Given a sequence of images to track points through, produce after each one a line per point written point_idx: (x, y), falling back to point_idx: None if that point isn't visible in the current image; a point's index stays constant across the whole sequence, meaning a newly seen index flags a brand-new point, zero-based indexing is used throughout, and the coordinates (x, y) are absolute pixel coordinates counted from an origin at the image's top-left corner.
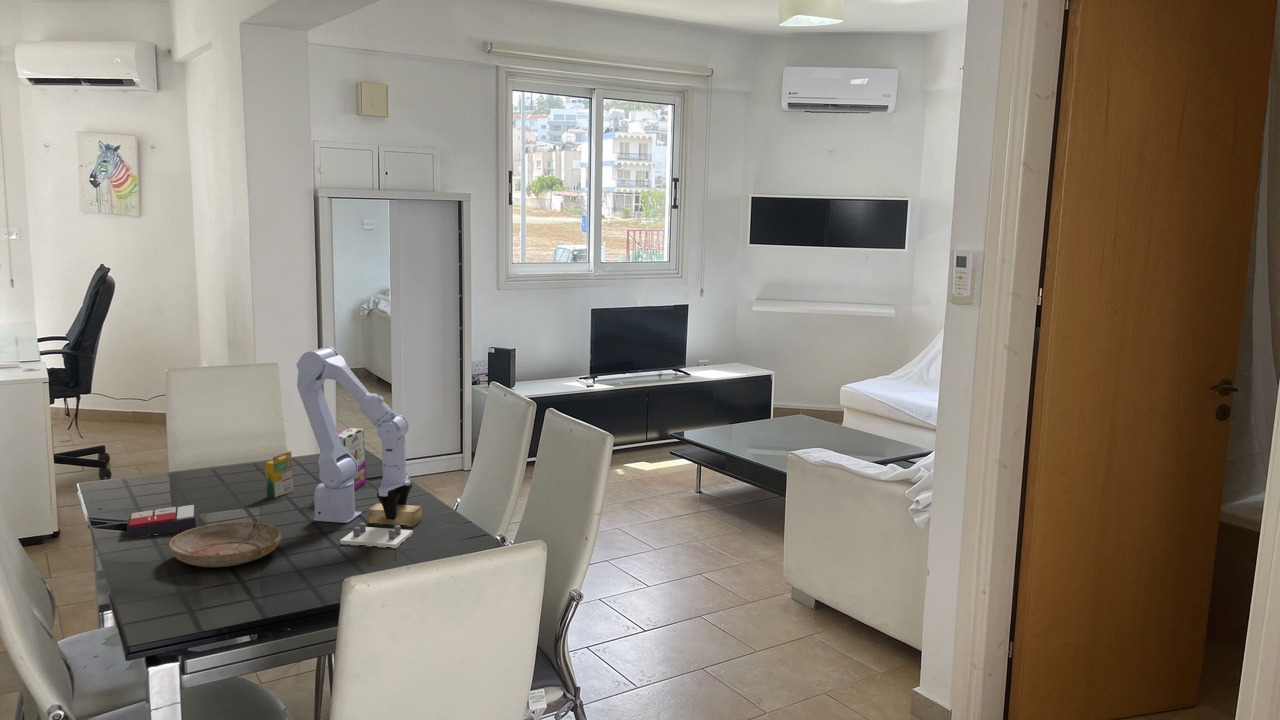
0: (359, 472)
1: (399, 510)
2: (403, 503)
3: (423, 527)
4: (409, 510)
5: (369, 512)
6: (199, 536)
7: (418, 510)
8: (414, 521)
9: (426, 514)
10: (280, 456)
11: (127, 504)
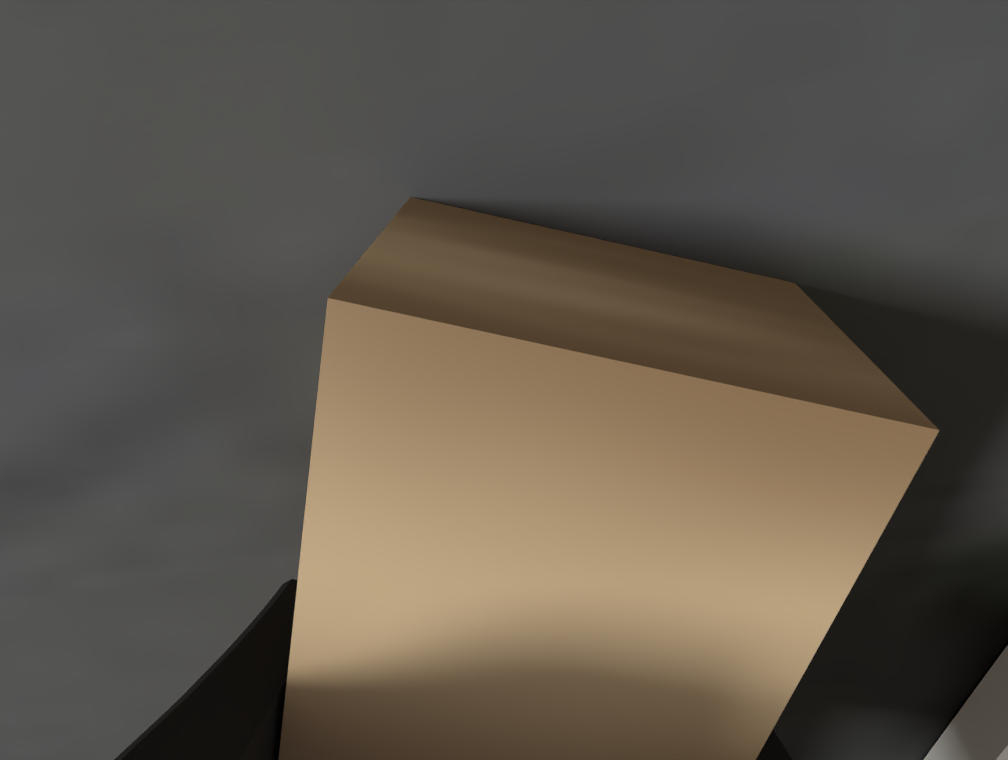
0: None
1: (715, 745)
2: (260, 745)
3: (901, 77)
4: (744, 555)
5: None
6: None
7: (582, 327)
8: (815, 313)
9: (39, 158)
10: None
11: None
